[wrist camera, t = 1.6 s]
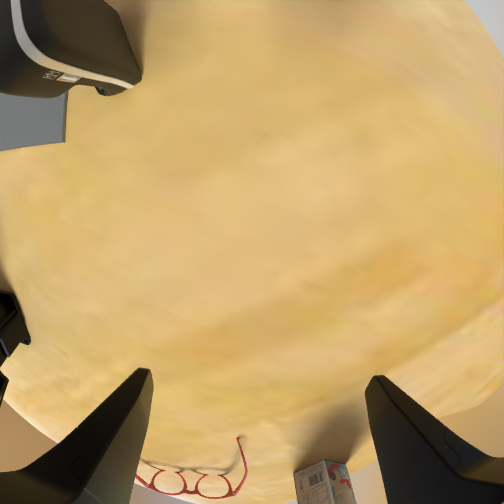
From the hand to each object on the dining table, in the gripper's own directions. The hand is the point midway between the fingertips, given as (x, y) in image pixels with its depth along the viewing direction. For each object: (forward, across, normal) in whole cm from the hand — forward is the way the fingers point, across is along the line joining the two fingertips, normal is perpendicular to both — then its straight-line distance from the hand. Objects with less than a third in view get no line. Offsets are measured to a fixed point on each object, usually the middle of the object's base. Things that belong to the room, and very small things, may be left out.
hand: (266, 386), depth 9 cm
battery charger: (+12, +11, -13) cm, 21 cm away
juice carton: (+12, -16, +40) cm, 45 cm away
